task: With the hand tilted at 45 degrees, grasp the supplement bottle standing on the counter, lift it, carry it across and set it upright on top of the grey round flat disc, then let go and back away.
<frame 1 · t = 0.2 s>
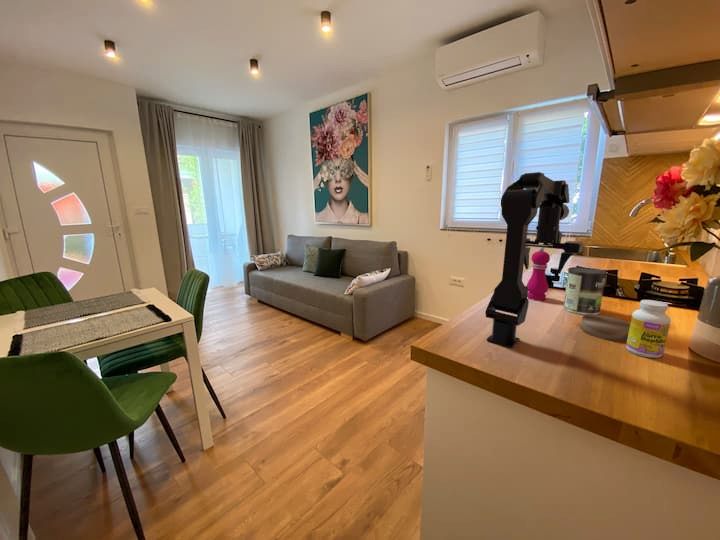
hand: (542, 271, 96), 15 cm above the worktop, tool pointing down, fingers open, 9 cm apart
pepper mill: (535, 298, 115), on the worktop
supplement bottle: (643, 353, 73), on the worktop
coffee can: (580, 310, 102), on the worktop
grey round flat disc: (604, 333, 84), on the worktop
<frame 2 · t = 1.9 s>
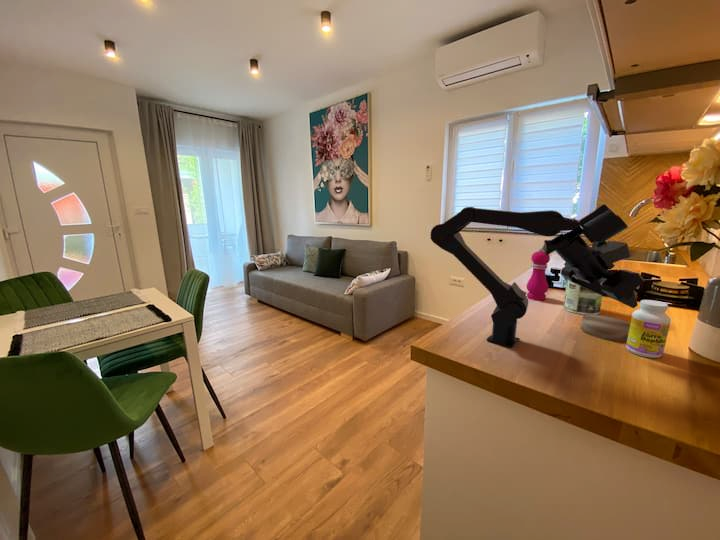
hand: (618, 300, 70), 13 cm above the worktop, tool tilted 45°, fingers open, 9 cm apart
nothing on the worktop moved.
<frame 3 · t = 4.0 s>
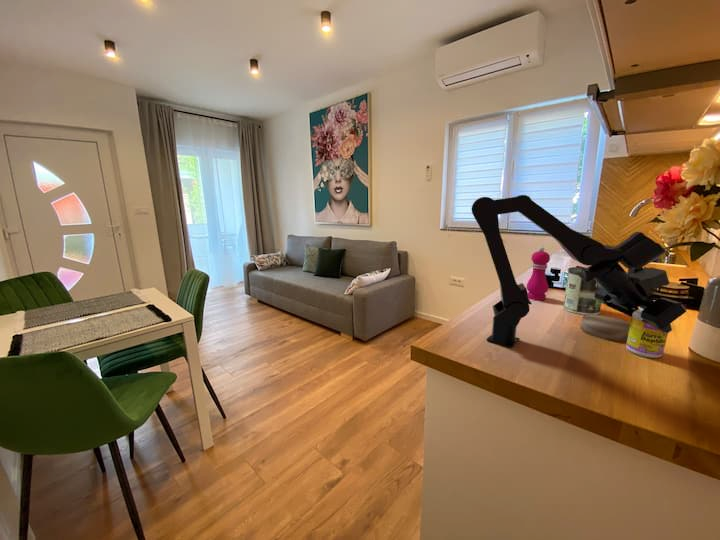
hand: (655, 325, 71), 7 cm above the worktop, tool tilted 45°, fingers closed on supplement bottle, 7 cm apart
supplement bottle: (643, 353, 73), on the worktop, touching gripper
everything else where it was.
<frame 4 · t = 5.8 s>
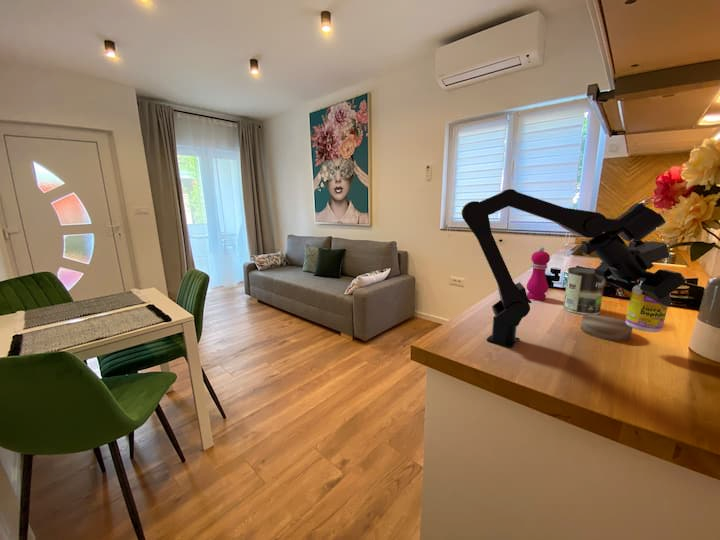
hand: (655, 299, 71), 13 cm above the worktop, tool tilted 45°, fingers closed on supplement bottle, 7 cm apart
supplement bottle: (642, 328, 73), point 6 cm above the worktop, touching gripper
everything else where it was.
when the fingers open (12 cm above the worktop, at t = 7.4 s): supplement bottle drops 1 cm, resting on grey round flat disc.
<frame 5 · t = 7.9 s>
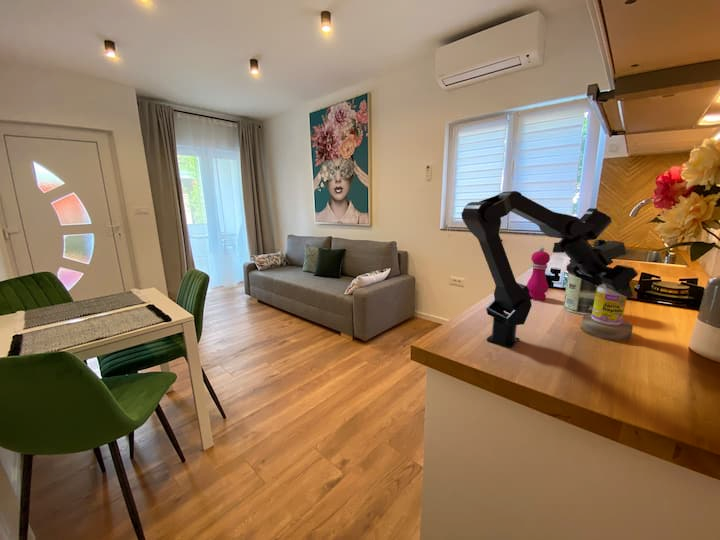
hand: (616, 291, 82), 12 cm above the worktop, tool tilted 45°, fingers open, 9 cm apart
supplement bottle: (605, 322, 84), point 3 cm above the worktop, touching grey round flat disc
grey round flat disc: (604, 333, 84), on the worktop, touching supplement bottle
everything else where it was.
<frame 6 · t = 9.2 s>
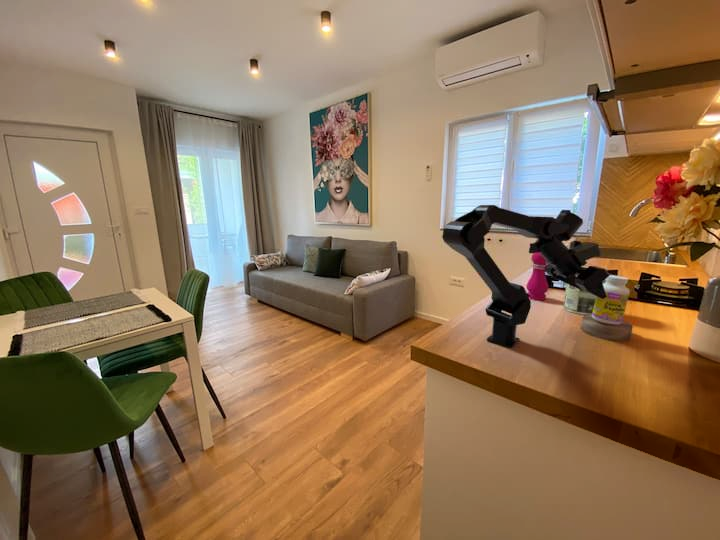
hand: (592, 292, 82), 12 cm above the worktop, tool tilted 45°, fingers open, 9 cm apart
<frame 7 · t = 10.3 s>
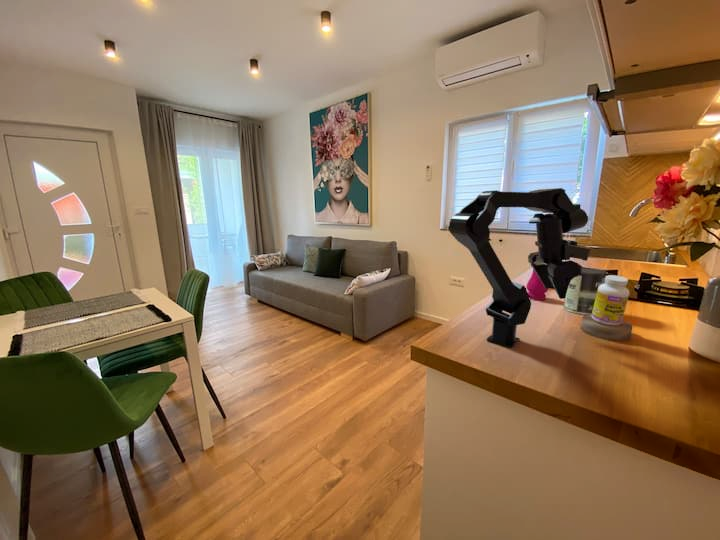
hand: (554, 292, 81), 12 cm above the worktop, tool pointing down, fingers open, 9 cm apart
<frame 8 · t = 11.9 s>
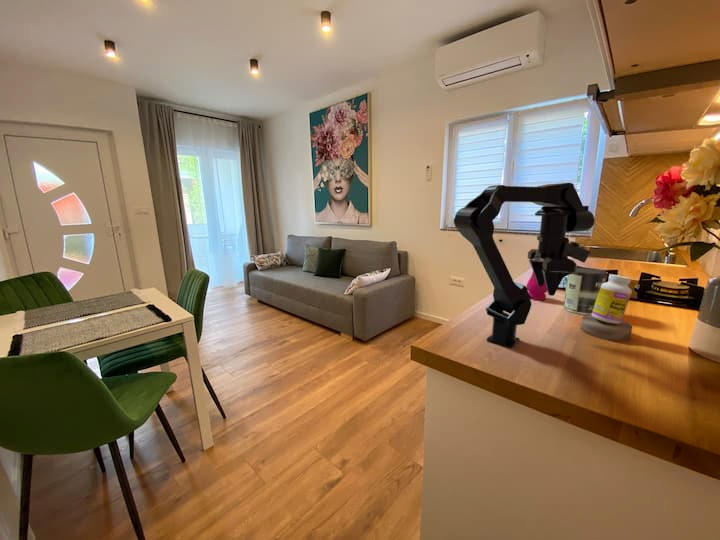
hand: (545, 290, 81), 13 cm above the worktop, tool pointing down, fingers open, 9 cm apart
at the end: supplement bottle inside the target area on the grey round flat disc (0.3 cm from its centre), point 3.9 cm above the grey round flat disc's base; supplement bottle tilted 10°; the gripper is holding nothing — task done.
